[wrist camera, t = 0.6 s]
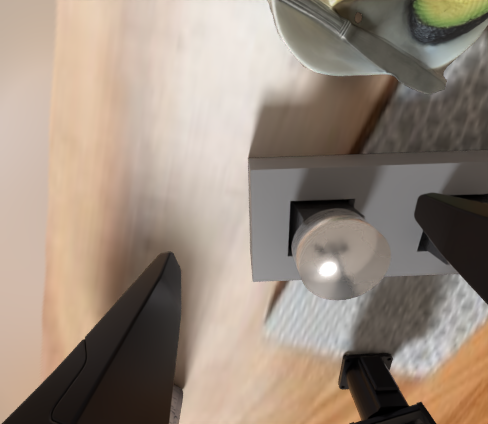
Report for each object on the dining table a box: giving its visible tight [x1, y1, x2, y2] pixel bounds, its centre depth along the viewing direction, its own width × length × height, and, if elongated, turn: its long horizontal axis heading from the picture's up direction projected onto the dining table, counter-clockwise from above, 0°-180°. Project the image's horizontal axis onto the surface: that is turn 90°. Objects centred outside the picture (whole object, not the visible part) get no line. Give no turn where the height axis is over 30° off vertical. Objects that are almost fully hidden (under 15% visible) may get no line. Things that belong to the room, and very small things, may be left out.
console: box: [248, 150, 488, 282], centre depth 22 cm, size 10×33×5 cm, turn 92°
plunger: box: [288, 199, 391, 300], centre depth 18 cm, size 6×6×7 cm
